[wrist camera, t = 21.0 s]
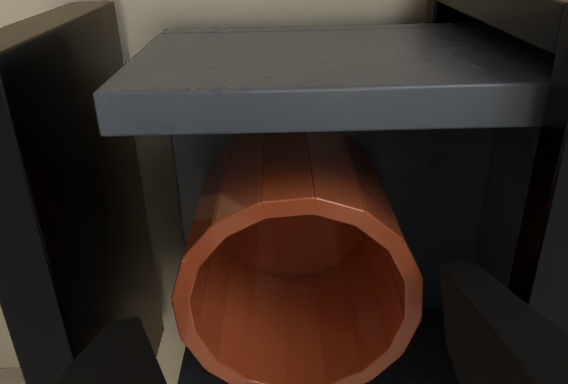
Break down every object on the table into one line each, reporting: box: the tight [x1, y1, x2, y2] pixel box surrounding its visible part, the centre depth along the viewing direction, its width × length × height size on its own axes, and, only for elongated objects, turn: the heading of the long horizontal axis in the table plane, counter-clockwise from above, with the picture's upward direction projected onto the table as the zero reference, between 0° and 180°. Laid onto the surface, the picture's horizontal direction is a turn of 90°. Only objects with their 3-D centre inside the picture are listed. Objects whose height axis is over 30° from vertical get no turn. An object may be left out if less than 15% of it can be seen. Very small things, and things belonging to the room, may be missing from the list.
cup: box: [171, 131, 424, 384], centre depth 14 cm, size 5×5×5 cm
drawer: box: [0, 2, 556, 384], centre depth 14 cm, size 17×11×7 cm, turn 91°
